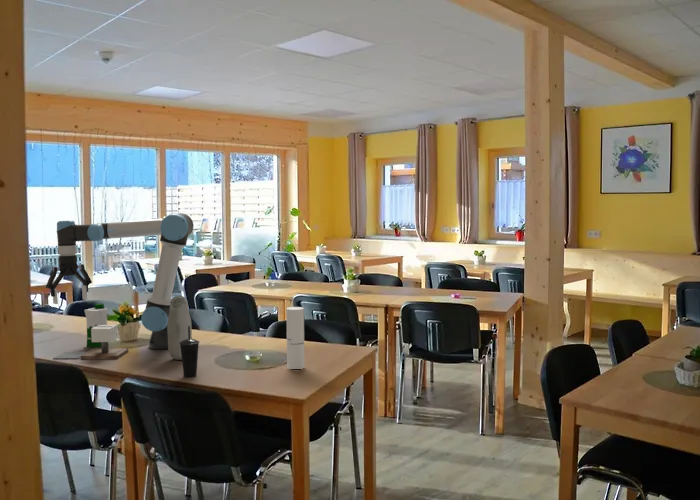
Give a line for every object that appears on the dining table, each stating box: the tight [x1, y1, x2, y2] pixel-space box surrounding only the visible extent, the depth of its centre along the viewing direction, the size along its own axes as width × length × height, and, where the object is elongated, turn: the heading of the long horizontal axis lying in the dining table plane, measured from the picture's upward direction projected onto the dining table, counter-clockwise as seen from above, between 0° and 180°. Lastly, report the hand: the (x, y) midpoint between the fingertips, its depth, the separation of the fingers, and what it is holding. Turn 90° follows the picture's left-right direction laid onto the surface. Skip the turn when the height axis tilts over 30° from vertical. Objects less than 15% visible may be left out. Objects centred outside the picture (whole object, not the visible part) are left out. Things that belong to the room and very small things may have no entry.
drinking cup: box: [179, 326, 200, 379], centre depth 251 cm, size 8×8×20 cm
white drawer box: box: [91, 324, 118, 343], centre depth 286 cm, size 8×8×6 cm
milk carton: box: [84, 303, 109, 349], centre depth 305 cm, size 9×9×20 cm
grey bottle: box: [167, 295, 193, 361], centre depth 278 cm, size 10×10×28 cm
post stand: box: [80, 342, 129, 360], centre depth 286 cm, size 16×14×12 cm
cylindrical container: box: [285, 306, 305, 370], centre depth 262 cm, size 7×7×25 cm
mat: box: [52, 351, 88, 360], centre depth 285 cm, size 11×11×1 cm
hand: (70, 301), depth 287 cm, fingers open, 13 cm apart
